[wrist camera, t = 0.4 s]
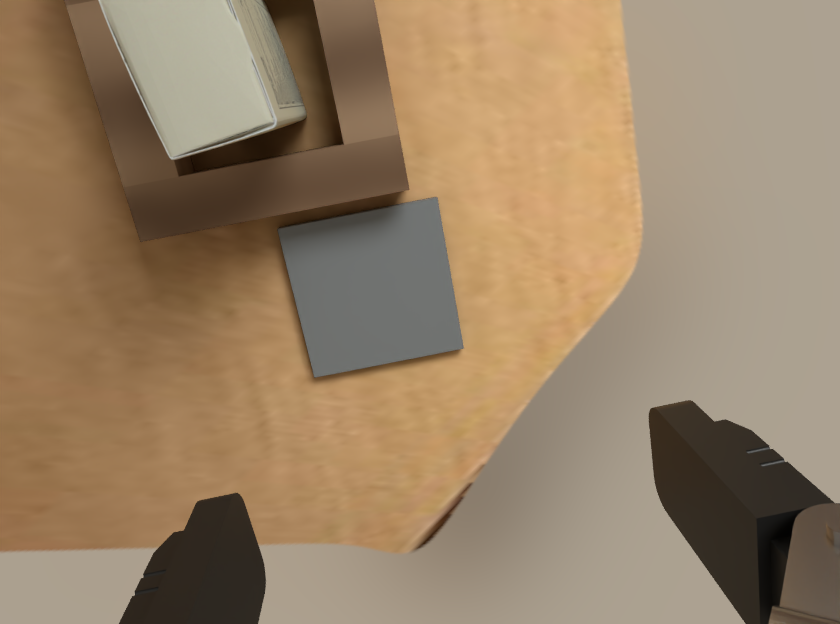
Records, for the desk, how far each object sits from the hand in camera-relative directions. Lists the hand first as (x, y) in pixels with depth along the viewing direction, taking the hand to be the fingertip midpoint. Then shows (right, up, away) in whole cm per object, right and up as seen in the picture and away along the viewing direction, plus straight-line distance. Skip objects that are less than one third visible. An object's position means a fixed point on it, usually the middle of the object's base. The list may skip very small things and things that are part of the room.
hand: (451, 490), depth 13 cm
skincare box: (-9, +16, +22) cm, 29 cm away
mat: (-3, +5, +25) cm, 26 cm away
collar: (-9, +16, +22) cm, 28 cm away
